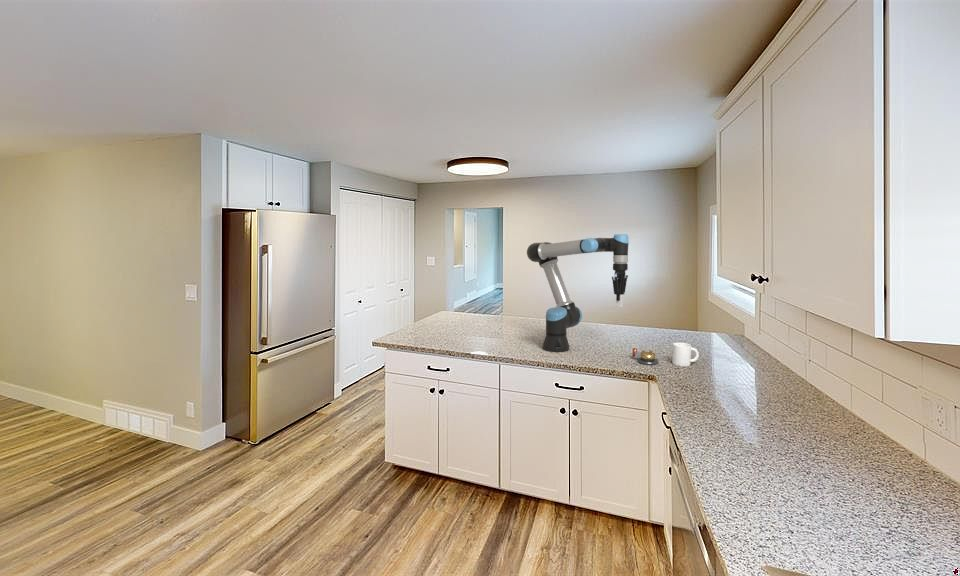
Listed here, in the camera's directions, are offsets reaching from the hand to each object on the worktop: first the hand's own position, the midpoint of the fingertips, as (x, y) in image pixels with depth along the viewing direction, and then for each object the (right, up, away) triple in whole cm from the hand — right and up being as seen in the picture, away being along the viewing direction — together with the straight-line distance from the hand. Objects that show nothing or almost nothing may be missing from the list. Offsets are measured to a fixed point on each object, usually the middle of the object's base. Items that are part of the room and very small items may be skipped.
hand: (619, 306), depth 227 cm
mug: (+27, -29, -18) cm, 43 cm away
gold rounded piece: (+9, -26, -12) cm, 30 cm away
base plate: (+10, -28, -13) cm, 33 cm away
